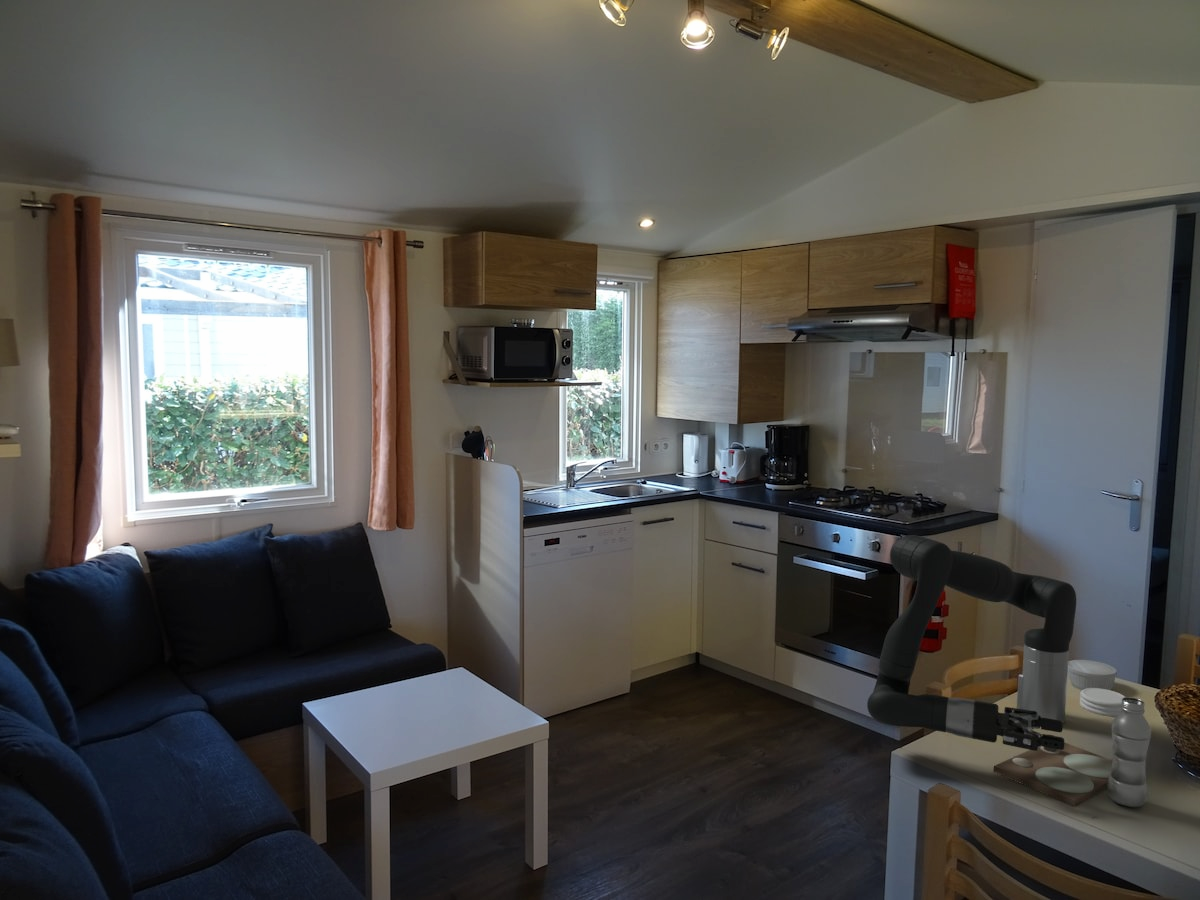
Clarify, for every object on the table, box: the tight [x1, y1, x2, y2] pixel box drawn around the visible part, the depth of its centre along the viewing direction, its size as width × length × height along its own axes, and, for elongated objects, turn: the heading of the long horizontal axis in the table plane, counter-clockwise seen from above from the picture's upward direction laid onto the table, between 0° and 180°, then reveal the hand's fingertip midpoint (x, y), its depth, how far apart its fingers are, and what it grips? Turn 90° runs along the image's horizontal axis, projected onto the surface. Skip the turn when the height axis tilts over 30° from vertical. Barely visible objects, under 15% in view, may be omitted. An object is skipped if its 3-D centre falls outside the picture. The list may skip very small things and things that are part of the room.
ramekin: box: [1067, 659, 1118, 691], centre depth 215 cm, size 11×11×5 cm
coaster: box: [1079, 688, 1126, 717], centre depth 201 cm, size 10×10×4 cm
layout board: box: [993, 734, 1113, 807], centre depth 169 cm, size 16×23×4 cm
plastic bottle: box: [1106, 696, 1152, 808], centre depth 156 cm, size 6×7×20 cm
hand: (1063, 735), depth 161 cm, fingers open, 8 cm apart
